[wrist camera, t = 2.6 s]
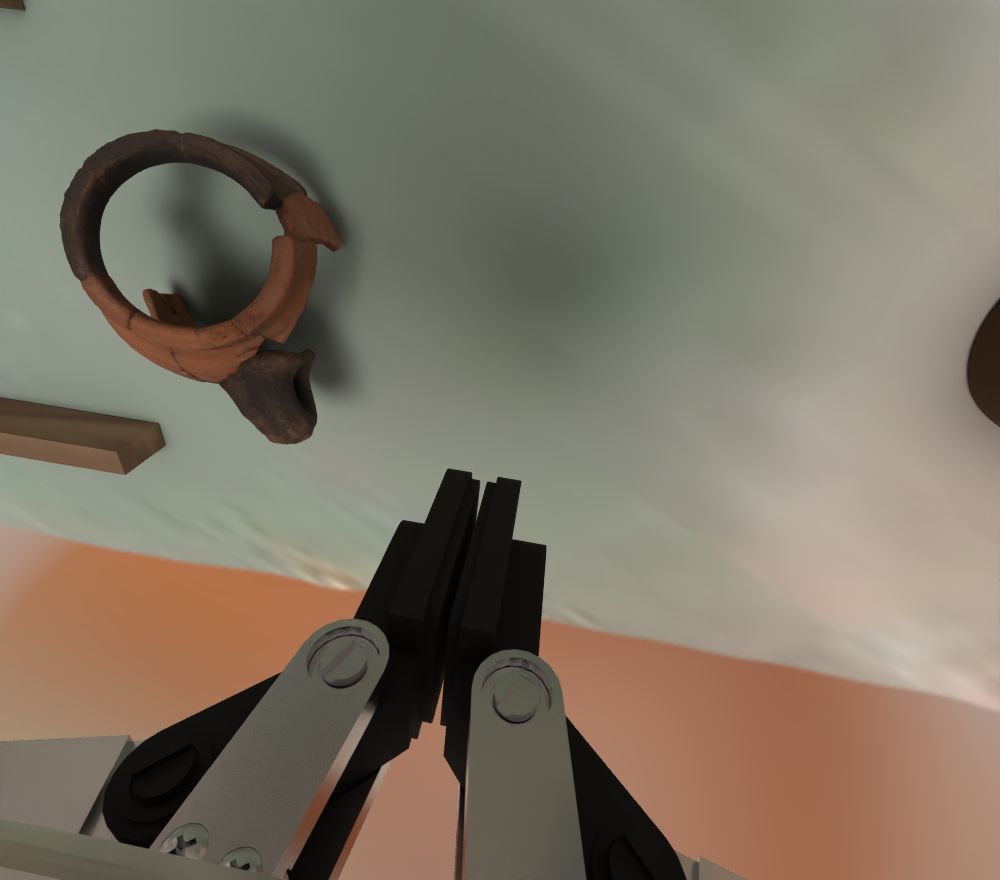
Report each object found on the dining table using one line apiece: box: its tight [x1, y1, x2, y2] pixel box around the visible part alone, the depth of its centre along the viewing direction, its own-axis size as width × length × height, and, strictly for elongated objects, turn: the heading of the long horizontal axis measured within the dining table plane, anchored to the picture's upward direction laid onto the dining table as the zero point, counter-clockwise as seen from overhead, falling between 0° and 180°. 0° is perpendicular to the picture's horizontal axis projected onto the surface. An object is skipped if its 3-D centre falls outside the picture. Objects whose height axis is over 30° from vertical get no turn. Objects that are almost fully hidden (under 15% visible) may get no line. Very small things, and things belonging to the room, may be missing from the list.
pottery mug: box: [60, 129, 340, 444], centre depth 20 cm, size 12×10×8 cm
